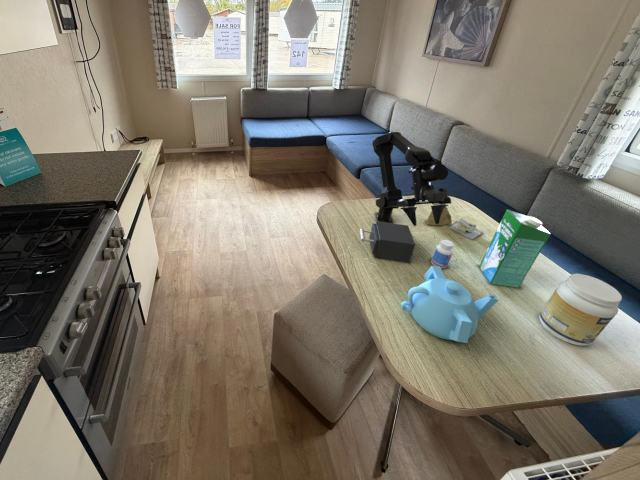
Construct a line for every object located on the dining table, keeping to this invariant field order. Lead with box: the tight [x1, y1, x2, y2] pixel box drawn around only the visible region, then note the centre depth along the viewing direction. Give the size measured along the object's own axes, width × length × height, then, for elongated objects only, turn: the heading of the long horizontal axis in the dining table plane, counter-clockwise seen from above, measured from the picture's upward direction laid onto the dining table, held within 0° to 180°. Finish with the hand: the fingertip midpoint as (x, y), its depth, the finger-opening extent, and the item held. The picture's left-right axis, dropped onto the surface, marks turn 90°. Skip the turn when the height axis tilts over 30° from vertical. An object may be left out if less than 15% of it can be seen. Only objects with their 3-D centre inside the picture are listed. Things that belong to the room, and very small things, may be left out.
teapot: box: [400, 265, 499, 344], centre depth 90 cm, size 19×19×14 cm
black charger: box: [374, 220, 416, 264], centre depth 119 cm, size 12×13×9 cm
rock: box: [425, 206, 453, 226], centre depth 137 cm, size 11×9×10 cm
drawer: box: [359, 223, 379, 256], centre depth 120 cm, size 16×11×7 cm
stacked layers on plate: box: [448, 214, 483, 240], centre depth 134 cm, size 10×9×6 cm
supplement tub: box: [538, 273, 623, 347], centre depth 87 cm, size 12×12×17 cm
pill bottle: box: [430, 239, 455, 269], centre depth 113 cm, size 6×5×10 cm
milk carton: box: [479, 209, 551, 288], centre depth 104 cm, size 9×9×25 cm
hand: (426, 224), depth 114 cm, fingers open, 9 cm apart
